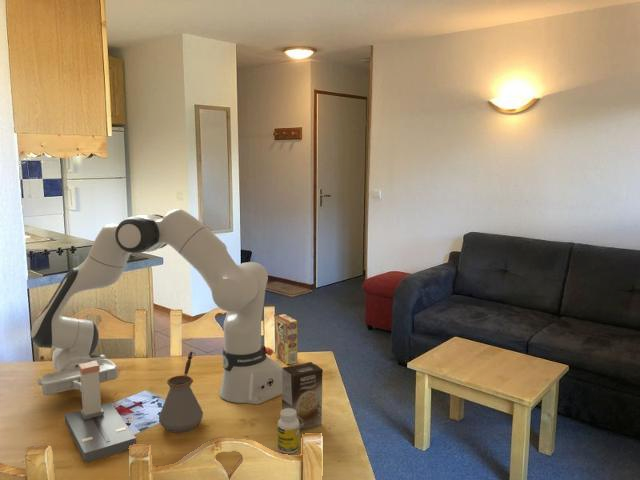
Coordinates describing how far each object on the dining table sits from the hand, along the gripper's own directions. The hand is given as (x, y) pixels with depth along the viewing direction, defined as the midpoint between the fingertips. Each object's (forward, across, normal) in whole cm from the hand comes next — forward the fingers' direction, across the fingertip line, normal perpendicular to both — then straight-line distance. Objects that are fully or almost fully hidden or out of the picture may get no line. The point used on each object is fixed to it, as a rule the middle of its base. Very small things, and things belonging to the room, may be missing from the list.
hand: (86, 387), depth 151 cm
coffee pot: (+17, +22, +8) cm, 29 cm away
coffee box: (+39, +46, +8) cm, 61 cm away
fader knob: (+7, 0, +5) cm, 8 cm away
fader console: (+13, 0, +8) cm, 15 cm away
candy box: (-1, +66, +8) cm, 66 cm away
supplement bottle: (+46, +37, +8) cm, 60 cm away
